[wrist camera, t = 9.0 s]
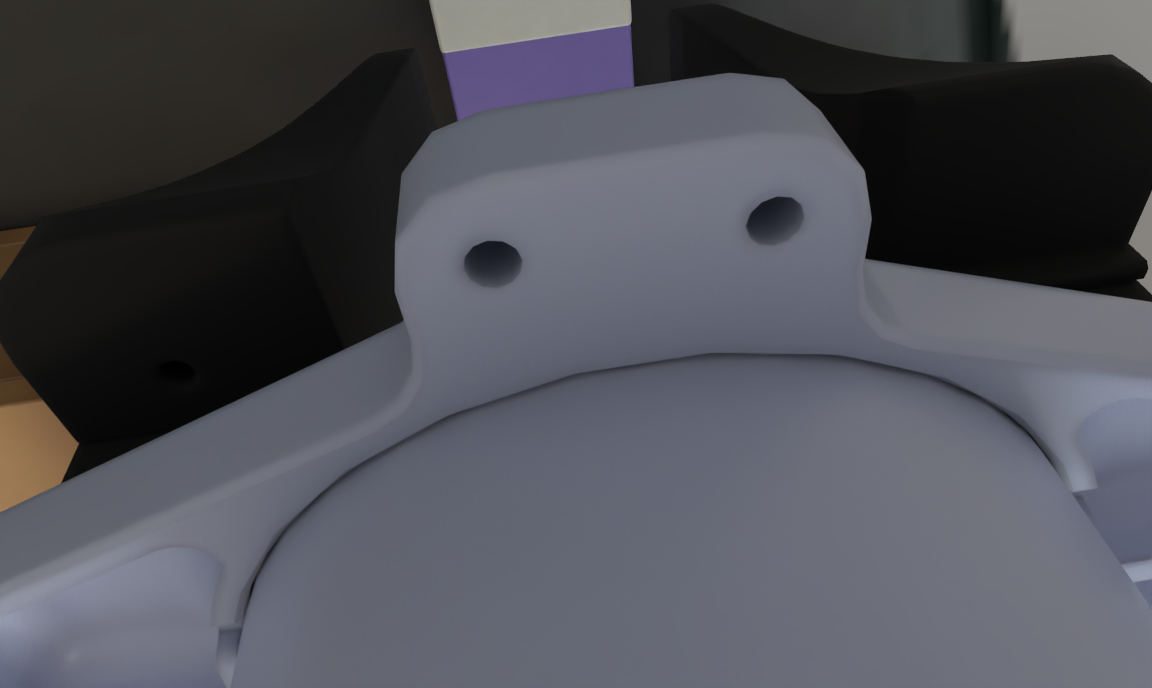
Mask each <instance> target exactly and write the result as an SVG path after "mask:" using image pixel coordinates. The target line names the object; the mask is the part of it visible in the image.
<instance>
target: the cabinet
mask: <svg viewBox="0 0 1152 688" xmlns="http://www.w3.org/2000/svg"><path fill="white" fill-rule="evenodd" d="M35 227H36V226H31V227H25V228H18V229H12V230H5V231H0V280H1V278H2V277H3V275H4V274H5V272H6V271H7V269H8V268H9V266H10V265H11V263H12V262H13V260H14V259H15V257H16V256H17V254H18V253H19V251H20V250H21V248H22V247H23V245H24V244H25V242H26V241H27V239H28V238H29V236H30V235H31V233H32V232H33V230H34V229H35ZM78 445H79V443H77V441H76V440H75V439H74V438H73V437H72V435H71V434H70V433H69V432H68V430H67V429H66V428H65V427H64V426H63V424H62V423H61V422H60V421H59V419H58V418H57V417H56V416H55V415H54V413H53V412H52V411H51V410H50V408H49V407H48V406H47V405H46V404H45V402H44V401H43V400H42V399H41V398H40V396H39V395H38V394H37V393H36V391H35V390H34V389H33V388H32V387H31V385H30V384H29V383H28V382H27V380H26V379H25V378H24V377H23V376H22V374H21V373H20V372H19V371H18V369H17V368H16V367H15V366H14V365H13V363H12V361H11V360H10V358H9V357H8V355H7V353H6V352H5V350H4V349H3V347H2V345H1V344H0V512H2V511H4V510H6V509H8V508H10V507H13V506H15V505H17V504H19V503H21V502H23V501H25V500H27V499H29V498H32V497H34V496H36V495H38V494H40V493H42V492H44V491H46V490H49V489H51V488H53V487H55V486H57V485H59V484H61V482H62V480H63V478H64V475H65V473H66V471H67V469H68V467H69V464H70V462H71V460H72V458H73V456H74V453H75V451H76V449H77V447H78Z"/></svg>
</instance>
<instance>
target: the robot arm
mask: <svg viewBox="0 0 1152 688" xmlns="http://www.w3.org/2000/svg"><path fill="white" fill-rule="evenodd" d="M669 31H670V69H671V82H665V83H658V84H651V85H645V86H638V87H631V88H625V89H618V90H612V91H605V92H598V93H592V94H585V95H578V96H572V97H565V98H559V99H552V100H545V101H539V102H532V103H526V104H519V105H512V106H506V107H499V108H492V109H486V110H483V111H480V112H478V113H476V114H473V115H471V116H468V117H466V118H464V119H461V120H459V121H457V122H454V123H452V124H450V125H447V126H445V127H442V128H440V129H438V130H436V126H435V122H434V118H433V114H432V110H431V106H430V102H429V98H428V94H427V90H426V86H425V82H424V78H423V74H422V70H421V65H420V61H419V57H418V53H417V49H416V48H411V49H404V50H398V51H391V52H384V53H378V54H375V55H373V56H371V57H370V58H368V59H367V60H366V61H364V62H363V63H362V64H361V65H360V66H358V67H357V68H356V69H355V70H354V71H353V72H352V73H351V74H349V75H348V76H347V77H346V78H345V79H344V80H343V81H342V82H340V83H339V84H338V85H337V86H336V87H335V88H334V89H333V90H331V91H330V92H329V93H328V94H327V95H326V96H325V97H323V98H322V99H321V100H320V101H318V102H317V103H316V104H314V105H313V106H312V107H311V108H309V109H308V110H307V111H305V112H304V113H303V114H302V115H300V116H299V117H298V118H296V119H295V120H294V121H293V122H291V123H290V124H289V125H287V126H286V127H284V128H283V129H281V130H280V131H278V132H277V133H275V134H274V135H272V136H270V137H269V138H267V139H265V140H264V141H262V142H260V143H258V144H257V145H255V146H253V147H252V148H250V149H248V150H246V151H244V152H242V153H240V154H238V155H236V156H234V157H232V158H230V159H227V160H225V161H223V162H221V163H219V164H216V165H214V166H212V167H210V168H208V169H205V170H203V171H201V172H199V173H197V174H194V175H192V176H189V177H186V178H184V179H181V180H178V181H175V182H173V183H170V184H167V185H164V186H161V187H158V188H155V189H152V190H148V191H145V192H142V193H139V194H136V195H132V196H129V197H125V198H121V199H118V200H114V201H109V202H105V203H101V204H97V205H92V206H88V207H84V208H79V209H75V210H71V211H66V212H62V213H57V214H52V215H47V216H43V217H42V218H41V220H40V221H39V223H38V224H37V226H36V227H35V229H34V230H33V232H32V233H31V235H30V236H29V238H28V239H27V241H26V242H25V244H24V245H23V247H22V248H21V250H20V251H19V253H18V254H17V256H16V257H15V259H14V260H13V262H12V263H11V265H10V266H9V268H8V269H7V271H6V272H5V274H4V275H3V277H2V278H1V280H0V344H1V345H2V347H3V349H4V350H5V352H6V353H7V355H8V357H9V358H10V360H11V361H12V363H13V365H14V366H15V367H16V368H17V369H18V371H19V372H20V373H21V374H22V376H23V377H24V378H25V379H26V380H27V382H28V383H29V384H30V385H31V387H32V388H33V389H34V390H35V391H36V393H37V394H38V395H39V396H40V398H41V399H42V400H43V401H44V402H45V404H46V405H47V406H48V407H49V408H50V410H51V411H52V412H53V413H54V415H55V416H56V417H57V418H58V419H59V421H60V422H61V423H62V424H63V426H64V427H65V428H66V429H67V430H68V432H69V433H70V434H71V435H72V437H73V438H74V439H75V440H76V441H77V443H79V445H78V447H77V449H76V451H75V453H74V456H73V458H72V460H71V462H70V464H69V467H68V469H67V471H66V473H65V475H64V478H63V480H62V482H61V484H59V485H57V486H55V487H53V488H51V489H49V490H46V491H44V492H42V493H40V494H38V495H36V496H34V497H32V498H29V499H27V500H25V501H23V502H21V503H19V504H17V505H15V506H13V507H10V508H8V509H6V510H4V511H2V512H0V688H1152V295H1151V294H1150V293H1149V292H1148V291H1147V290H1146V289H1145V288H1144V287H1143V286H1142V285H1141V284H1140V283H1139V282H1138V281H1137V279H1142V278H1144V277H1145V275H1146V273H1147V270H1148V265H1147V260H1146V259H1144V258H1143V257H1142V256H1141V255H1140V254H1139V253H1138V252H1137V251H1136V250H1135V249H1134V248H1133V247H1132V246H1131V245H1129V244H1128V243H1129V241H1130V238H1131V236H1132V234H1133V232H1134V229H1135V227H1136V224H1137V222H1138V220H1139V218H1140V216H1141V214H1142V211H1143V209H1144V207H1145V205H1146V202H1147V200H1148V198H1149V195H1150V193H1151V191H1152V83H1151V82H1150V81H1149V80H1147V79H1146V78H1145V77H1143V75H1141V74H1140V73H1139V72H1137V71H1136V70H1134V69H1132V68H1131V67H1130V66H1128V65H1127V64H1125V63H1124V62H1122V61H1121V60H1120V59H1118V58H1117V57H1115V56H1114V55H1098V56H1087V57H1076V58H1065V59H1054V60H1041V61H1030V62H984V63H972V62H943V61H931V60H919V59H907V58H899V57H892V56H884V55H879V54H874V53H868V52H863V51H858V50H853V49H848V48H844V47H840V46H835V45H832V44H828V43H825V42H822V41H818V40H815V39H812V38H808V37H805V36H802V35H799V34H796V33H793V32H790V31H787V30H785V29H782V28H779V27H776V26H774V25H771V24H769V23H766V22H763V21H761V20H758V19H756V18H753V17H751V16H748V15H745V14H743V13H740V12H738V11H735V10H732V9H729V8H726V7H723V6H720V5H715V4H704V5H697V6H691V7H684V8H677V9H671V10H669Z"/></svg>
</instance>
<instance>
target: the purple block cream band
mask: <svg viewBox="0 0 1152 688" xmlns="http://www.w3.org/2000/svg"><path fill="white" fill-rule="evenodd" d="M429 3H430V7H431V12H432V16H433V21H434V25H435V29H436V34H437V38H438V43H439V47H440V50H441V52H442V54H443V58H444V63H445V67H446V72H447V76H448V81H449V85H450V90H451V94H452V99H453V103H454V107H455V112H456V116H457V121H459V120H461V119H464V118H466V117H468V116H471V115H473V114H476V113H478V112H480V111H483V110H486V109H492V108H499V107H506V106H512V105H519V104H526V103H532V102H539V101H545V100H552V99H559V98H565V97H572V96H578V95H585V94H592V93H598V92H605V91H612V90H618V89H625V88H631V87H634V74H633V57H632V40H631V21H632V16H631V0H429Z"/></svg>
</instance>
